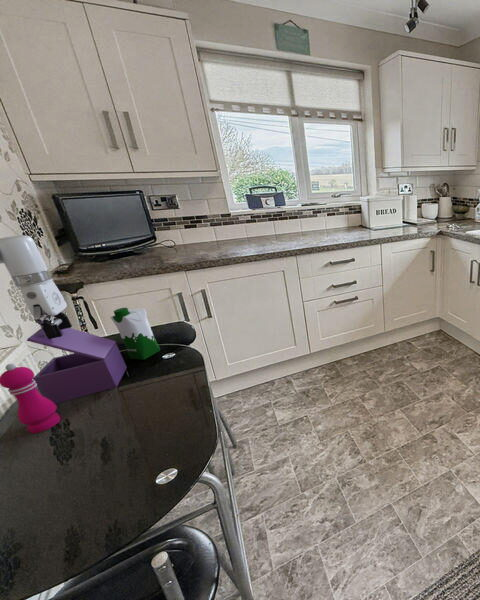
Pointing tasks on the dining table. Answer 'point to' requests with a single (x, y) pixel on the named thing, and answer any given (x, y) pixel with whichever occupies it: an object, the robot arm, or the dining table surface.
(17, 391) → the pepper mill
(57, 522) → the dining table surface
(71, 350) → the lid
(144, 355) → the milk carton
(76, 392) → the box
